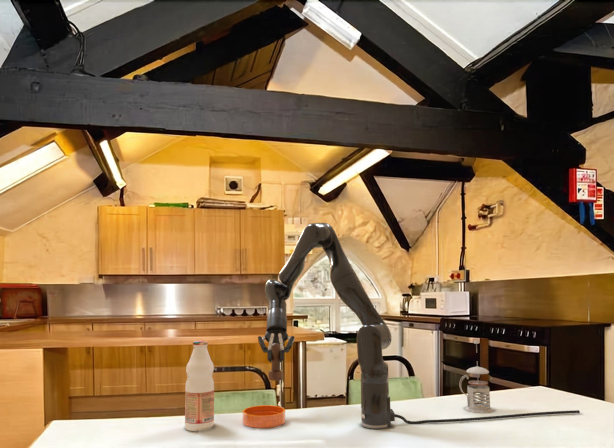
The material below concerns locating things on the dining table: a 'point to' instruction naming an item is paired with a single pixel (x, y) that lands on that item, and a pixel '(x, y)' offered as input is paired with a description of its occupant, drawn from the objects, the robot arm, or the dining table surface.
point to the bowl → (263, 416)
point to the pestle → (275, 364)
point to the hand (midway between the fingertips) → (275, 360)
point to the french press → (481, 388)
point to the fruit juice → (199, 389)
